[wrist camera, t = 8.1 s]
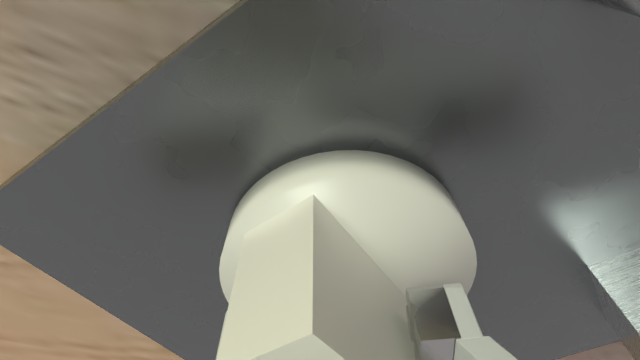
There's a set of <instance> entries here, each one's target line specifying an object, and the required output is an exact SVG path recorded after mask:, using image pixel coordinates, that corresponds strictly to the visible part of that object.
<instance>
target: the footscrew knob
mask: <svg viewBox="0 0 640 360" xmlns="http://www.w3.org/2000/svg"><path fill="white" fill-rule="evenodd" d="M476 267H477V257H476V250H475V246H474V243H473V240H472V238H471V235H470V233H469V231H468V229H467V227H466V225H465V223H464V221H463V219H462V217H461V215H460V212H459V210H458V208H457V206H456V204H455V202H454V200H453V199H452V197H451V195H450V194H449V192H448V191H447V190H446V189H445V187H444V186H443V185H442V184H441V183H440V182H439V181H438V180H437V179H436V178H435V177H433V176H432V175H431V174H429V173H428V172H426V171H425V170H423V169H422V168H420V167H418V166H416V165H414V164H412V163H410V162H408V161H406V160H403V159H400V158H397V157H394V156H391V155H387V154H382V153H378V152H372V151H361V150H337V151H330V152H323V153H317V154H313V155H309V156H305V157H302V158H299V159H296V160H294V161H291V162H289V163H286V164H284V165H282V166H280V167H279V168H277V169H275V170H273V171H271V172H270V173H268V174H267V175H265V176H264V177H263V178H261V179H260V180H259V181H257V182H256V183H255V184H254V185H253V186H252V187H251V188H250V189H249V190H248V191H247V193H246V194H245V195H244V196H243V198H242V199H241V200H240V202H239V204H238V205H237V207H236V209H235V211H234V213H233V216H232V219H231V222H230V225H229V229H228V233H227V236H226V240H225V244H224V247H223V251H222V254H221V258H220V266H219V276H220V283H221V287H222V291H223V293H224V295H225V297H226V299H227V302H228V303H229V306H228V310H227V315H226V319H225V324H224V328H223V333H222V337H221V342H220V346H219V351H218V355H217V360H416V359H415V355H414V342H413V341H412V340H411V337H410V333H409V328H408V323H407V315H406V306H407V305H408V304H407V300H406V288H414V287H422V286H431V285H439V284H441V285H444V284H452V283H461V284H462V285H463V287H464V290H465V292H466V295H468V293H469V291H470V289H471V287H472V284H473V281H474V278H475V275H476Z"/></svg>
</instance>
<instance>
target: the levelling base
mask: <svg viewBox="0 0 640 360" xmlns="http://www.w3.org/2000/svg"><path fill="white" fill-rule="evenodd" d="M337 150H361V151H372V152H378V153H382V154H387V155H391V156H394V157H397V158H400V159H403V160H406V161H408V162H410V163H412V164H414V165H416V166H418V167H420V168H422V169H423V170H425V171H426V172H428V173H429V174H431V175H432V176H433V177H435V178H436V179H437V180H438V181H439V182H440V183H441V184H442V185H443V186H444V187H445V189H446V190H447V191H448V192H449V194H450V195H451V197H452V199H453V200H454V202H455V204H456V206H457V208H458V210H459V212H460V215H461V217H462V219H463V221H464V223H465V225H466V227H467V229H468V231H469V233H470V235H471V238H472V240H473V243H474V246H475V250H476V257H477V267H476V275H475V278H474V281H473V284H472V287H471V289H470V291H469V293H468V295H467V297H468V299H469V302H470V304H471V307H472V309H473V312H474V314H475V317H476V319H477V322H478V324H479V327H480V329H481V331H482V334H483V336H490V337H491V338H492V339H494V340H495V341H496V342H497V343H498V344H500V345H501V346H502V347H503V348H504V349H506V350H507V351H508V352H509V353H510V354H512V355H513V356H514V357H515V358H516V359H518V360H555V359H558V358H562V357H565V356H568V355H572V354H575V353H579V352H582V351H585V350H589V349H592V348H596V347H599V346H602V345H606V344H609V343H613V342H616V341H620V340H621V341H622V343H623V344H624V346H625V347H626V348H627V350H628V351H629V353H630V354H631V355H632V357H633V358H634V360H640V0H240V1H239V2H238V3H237V4H235V5H234V6H233V7H231V8H230V9H229V10H227V11H226V12H225V13H224V14H222V15H221V16H220V17H218V18H217V19H216V20H215V21H213V22H212V23H211V24H209V25H208V26H207V27H205V28H204V29H203V30H202V31H200V32H199V33H198V34H196V35H195V36H194V37H192V38H191V39H190V40H189V41H187V42H186V43H185V44H183V45H182V46H181V47H179V48H178V49H177V50H176V51H174V52H173V53H172V54H170V55H169V56H168V57H166V58H165V59H164V60H163V61H161V62H160V63H159V64H157V65H156V66H155V67H153V68H152V69H151V70H150V71H148V72H147V73H146V74H144V75H143V76H142V77H140V78H139V79H138V80H137V81H135V82H134V83H133V84H131V85H130V86H129V87H128V88H126V89H125V90H124V91H122V92H121V93H120V94H118V95H117V96H116V97H115V98H113V99H112V100H111V101H109V102H108V103H107V104H105V105H104V106H103V107H102V108H100V109H99V110H98V111H96V112H95V113H94V114H92V115H91V116H90V117H89V118H87V119H86V120H85V121H83V122H82V123H81V124H79V125H78V126H77V127H76V128H74V129H73V130H72V131H70V132H69V133H68V134H66V135H65V136H64V137H63V138H61V139H60V140H59V141H57V142H56V143H55V144H54V145H52V146H51V147H50V148H48V149H47V150H46V151H44V152H43V153H42V154H41V155H39V156H38V157H37V158H35V159H34V160H33V161H31V162H30V163H29V164H28V165H26V166H25V167H24V168H22V169H21V170H20V171H18V172H17V173H16V174H15V175H13V176H12V177H11V178H9V179H8V180H7V181H5V182H4V183H3V184H2V185H0V245H2V246H3V247H5V248H6V249H8V250H10V251H11V252H13V253H14V254H16V255H18V256H19V257H21V258H22V259H24V260H26V261H27V262H29V263H30V264H32V265H34V266H35V267H37V268H39V269H40V270H42V271H43V272H45V273H47V274H48V275H50V276H51V277H53V278H55V279H56V280H58V281H59V282H61V283H63V284H64V285H66V286H67V287H69V288H71V289H72V290H74V291H75V292H77V293H79V294H80V295H82V296H83V297H85V298H87V299H88V300H90V301H91V302H93V303H95V304H96V305H98V306H100V307H101V308H103V309H104V310H106V311H108V312H109V313H111V314H112V315H114V316H116V317H117V318H119V319H120V320H122V321H124V322H125V323H127V324H128V325H130V326H132V327H133V328H135V329H136V330H138V331H140V332H141V333H143V334H144V335H146V336H148V337H149V338H151V339H153V340H154V341H156V342H157V343H159V344H161V345H162V346H164V347H165V348H167V349H169V350H170V351H172V352H173V353H175V354H177V355H178V356H180V357H181V358H183V359H185V360H216V355H217V350H218V346H219V341H220V337H221V332H222V327H223V323H224V318H225V314H226V311H227V310H228V306H229V303H228V302H227V299H226V297H225V295H224V293H223V291H222V287H221V283H220V276H219V266H220V258H221V254H222V251H223V247H224V244H225V240H226V236H227V233H228V229H229V225H230V222H231V219H232V216H233V213H234V211H235V209H236V207H237V205H238V204H239V202H240V200H241V199H242V198H243V196H244V195H245V194H246V193H247V191H248V190H249V189H250V188H251V187H252V186H253V185H254V184H255V183H256V182H257V181H259V180H260V179H261V178H263V177H264V176H265V175H267V174H268V173H270V172H271V171H273V170H275V169H277V168H279V167H280V166H282V165H284V164H286V163H289V162H291V161H294V160H296V159H299V158H302V157H305V156H309V155H313V154H317V153H323V152H330V151H337Z"/></svg>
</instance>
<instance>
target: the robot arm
mask: <svg viewBox="0 0 640 360" xmlns="http://www.w3.org/2000/svg"><path fill="white" fill-rule="evenodd" d="M406 300H407V304H408V305H407V306H406V315H407V323H408V328H409V333H410V337H411V340H412V341H413V342H414V355H415V359H416V360H518V359H516V358H515V357H514V356H513V355H512V354H510V353H509V352H508V351H507V350H506V349H504V348H503V347H502V346H501V345H500V344H498V343H497V342H496V341H495V340H494V339H492V338H491V337H490V336H483V334H482V331H481V329H480V327H479V324H478V322H477V319H476V317H475V314H474V312H473V309H472V307H471V304H470V302H469V299H468V297H467V295H466V292H465V290H464V287H463V285H462V284H461V283H452V284H444V285H441V284H439V285H431V286H422V287H414V288H406ZM226 315H227V311H226V314H225V318H224V323H223V327H222V332H221V337H222V333H223V328H224V324H225V319H226ZM221 337H220V341H219V346H220V342H221ZM219 346H218V350H217V355H218V351H219ZM217 355H216V360H217Z"/></svg>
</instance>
